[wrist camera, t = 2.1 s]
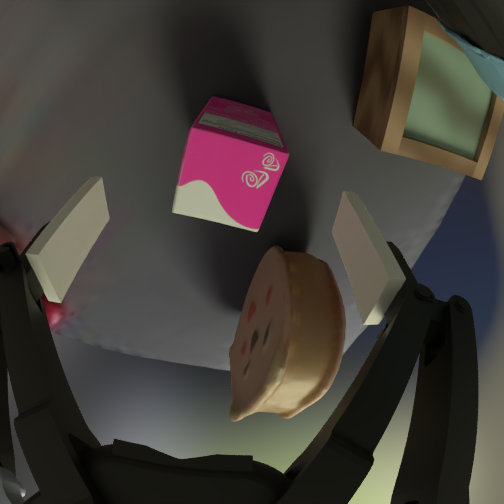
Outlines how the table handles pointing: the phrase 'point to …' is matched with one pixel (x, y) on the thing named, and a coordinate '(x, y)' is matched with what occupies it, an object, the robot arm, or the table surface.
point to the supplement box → (230, 165)
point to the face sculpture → (286, 336)
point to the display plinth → (425, 95)
